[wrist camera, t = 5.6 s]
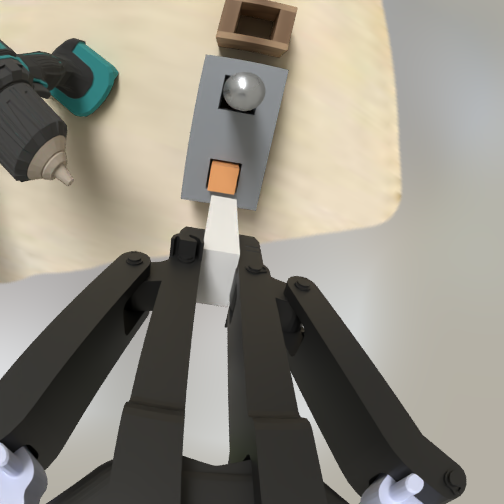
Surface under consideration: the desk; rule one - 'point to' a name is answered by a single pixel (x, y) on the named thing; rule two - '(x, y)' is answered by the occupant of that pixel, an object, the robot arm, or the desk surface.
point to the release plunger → (223, 176)
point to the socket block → (231, 131)
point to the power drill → (46, 105)
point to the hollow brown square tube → (257, 5)
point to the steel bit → (244, 91)
